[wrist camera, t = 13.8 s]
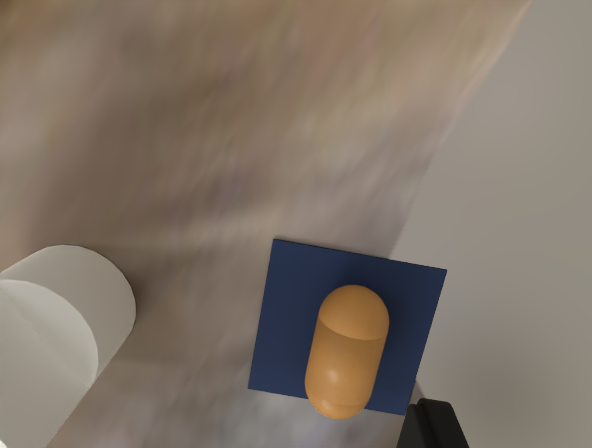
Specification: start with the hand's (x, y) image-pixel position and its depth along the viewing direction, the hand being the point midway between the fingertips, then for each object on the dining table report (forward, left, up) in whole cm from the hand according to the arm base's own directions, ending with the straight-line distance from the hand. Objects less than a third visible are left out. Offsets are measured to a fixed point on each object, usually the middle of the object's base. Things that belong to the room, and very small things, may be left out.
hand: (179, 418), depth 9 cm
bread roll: (+5, +10, -21) cm, 24 cm away
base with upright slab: (+16, -6, -22) cm, 27 cm away
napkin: (+5, +10, -21) cm, 24 cm away
